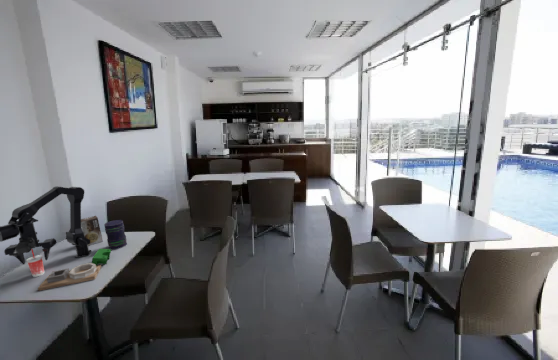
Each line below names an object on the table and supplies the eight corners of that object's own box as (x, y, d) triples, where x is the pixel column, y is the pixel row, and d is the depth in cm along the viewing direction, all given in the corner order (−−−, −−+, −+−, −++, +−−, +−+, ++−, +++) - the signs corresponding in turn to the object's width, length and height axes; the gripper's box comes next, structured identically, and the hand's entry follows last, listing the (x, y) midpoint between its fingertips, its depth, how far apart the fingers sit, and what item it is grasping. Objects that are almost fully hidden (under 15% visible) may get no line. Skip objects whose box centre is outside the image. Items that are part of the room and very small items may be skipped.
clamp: (105, 272, 145) (104, 261, 140) (92, 272, 143) (91, 260, 138) (111, 255, 154) (111, 243, 150) (99, 254, 152) (98, 243, 148)
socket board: (50, 277, 134) (48, 269, 134) (101, 267, 142) (99, 260, 141) (38, 290, 123) (36, 283, 122) (94, 279, 130) (93, 271, 130)
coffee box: (101, 238, 179) (96, 215, 175) (103, 241, 174) (98, 217, 170) (84, 243, 173) (79, 219, 169) (86, 246, 168) (80, 221, 164)
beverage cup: (47, 274, 138) (40, 248, 135) (31, 279, 133) (23, 253, 130) (45, 269, 142) (39, 245, 139) (30, 274, 138) (23, 249, 135)
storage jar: (124, 240, 173) (120, 218, 170) (129, 245, 167) (125, 222, 163) (106, 246, 166) (101, 223, 163) (111, 251, 160) (106, 227, 156)
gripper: (-8, 243, 122) (2, 274, 126) (43, 235, 128) (51, 265, 132) (7, 234, 133) (15, 263, 136) (53, 227, 139) (60, 255, 142)
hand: (35, 262), depth 136 cm, fingers open, 9 cm apart
